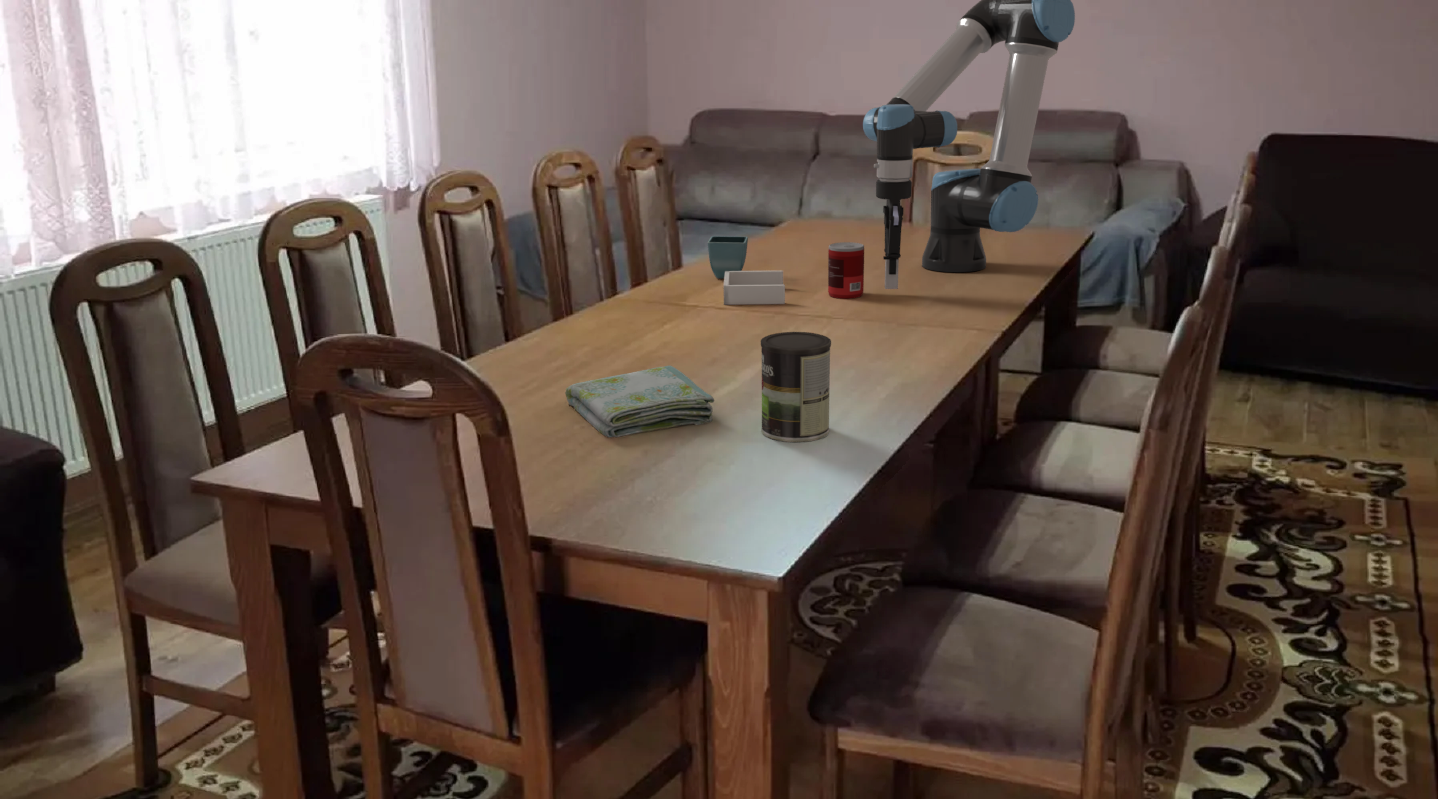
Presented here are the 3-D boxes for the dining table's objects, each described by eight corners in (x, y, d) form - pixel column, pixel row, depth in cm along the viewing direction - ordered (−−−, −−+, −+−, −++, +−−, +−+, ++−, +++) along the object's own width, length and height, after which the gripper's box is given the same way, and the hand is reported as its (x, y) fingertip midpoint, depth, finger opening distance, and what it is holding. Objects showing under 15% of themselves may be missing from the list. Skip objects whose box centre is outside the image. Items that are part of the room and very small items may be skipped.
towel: (606, 443, 188) (605, 410, 187) (564, 404, 207) (563, 374, 205) (720, 426, 195) (719, 394, 193) (669, 390, 214) (668, 360, 212)
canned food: (867, 292, 281) (867, 242, 278) (858, 300, 274) (859, 249, 271) (833, 290, 284) (833, 241, 281) (824, 298, 277) (824, 247, 273)
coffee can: (765, 444, 185) (764, 350, 181) (757, 422, 195) (756, 332, 191) (835, 441, 186) (836, 347, 182) (824, 419, 196) (825, 330, 192)
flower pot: (748, 273, 304) (748, 235, 301) (745, 281, 295) (745, 242, 292) (711, 273, 304) (711, 235, 302) (707, 280, 296) (707, 242, 293)
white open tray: (783, 288, 287) (783, 270, 286) (784, 303, 272) (784, 285, 270) (725, 288, 287) (724, 271, 286) (723, 304, 272) (723, 286, 271)
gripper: (873, 175, 278) (871, 282, 285) (879, 183, 265) (876, 294, 272) (908, 175, 277) (905, 281, 284) (915, 183, 265) (912, 294, 272)
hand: (891, 288), depth 278 cm, fingers closed
